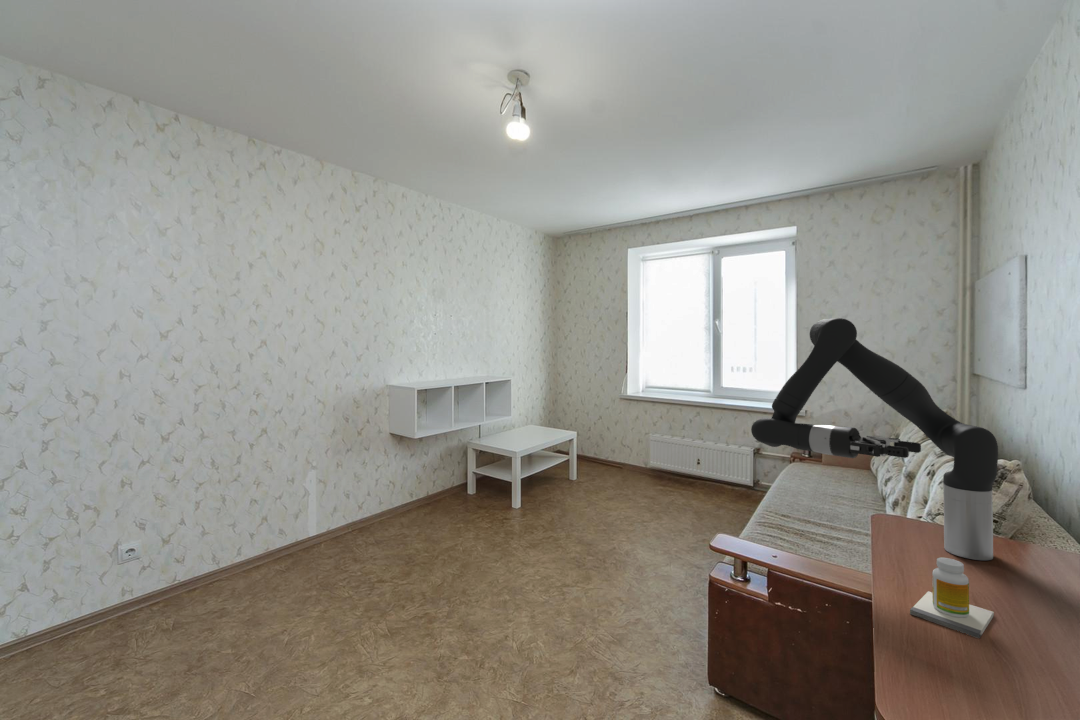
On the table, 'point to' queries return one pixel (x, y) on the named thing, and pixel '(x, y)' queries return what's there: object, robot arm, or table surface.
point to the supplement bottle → (950, 588)
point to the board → (967, 625)
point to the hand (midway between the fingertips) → (914, 450)
